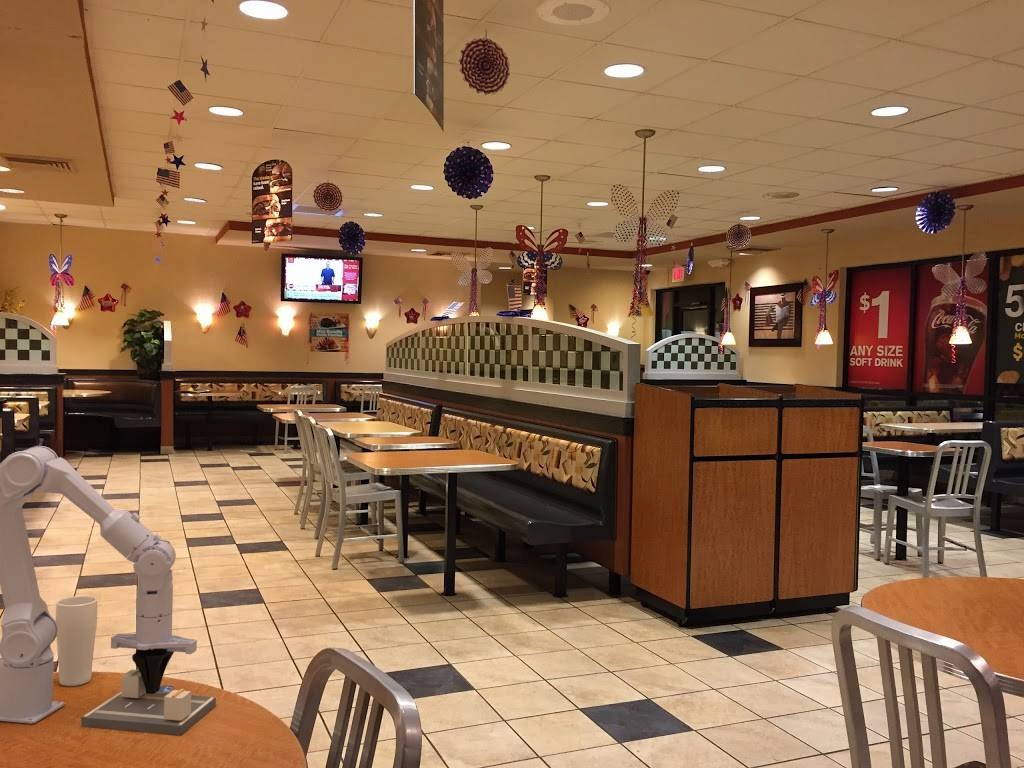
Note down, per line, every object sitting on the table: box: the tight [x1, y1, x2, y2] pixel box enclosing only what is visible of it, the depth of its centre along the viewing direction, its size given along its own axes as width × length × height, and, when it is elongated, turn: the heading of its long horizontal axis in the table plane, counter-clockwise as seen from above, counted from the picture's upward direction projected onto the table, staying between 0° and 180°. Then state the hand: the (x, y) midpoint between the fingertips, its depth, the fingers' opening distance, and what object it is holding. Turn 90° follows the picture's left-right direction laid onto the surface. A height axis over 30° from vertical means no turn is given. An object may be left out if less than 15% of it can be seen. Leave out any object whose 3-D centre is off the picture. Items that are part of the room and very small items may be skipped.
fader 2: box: [164, 688, 192, 721], centre depth 138 cm, size 3×3×4 cm
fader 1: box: [120, 668, 146, 698], centre depth 146 cm, size 3×3×4 cm
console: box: [80, 691, 217, 736], centre depth 142 cm, size 17×12×2 cm
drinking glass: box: [55, 595, 98, 687], centre depth 156 cm, size 7×7×15 cm
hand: (152, 691), depth 146 cm, fingers closed
